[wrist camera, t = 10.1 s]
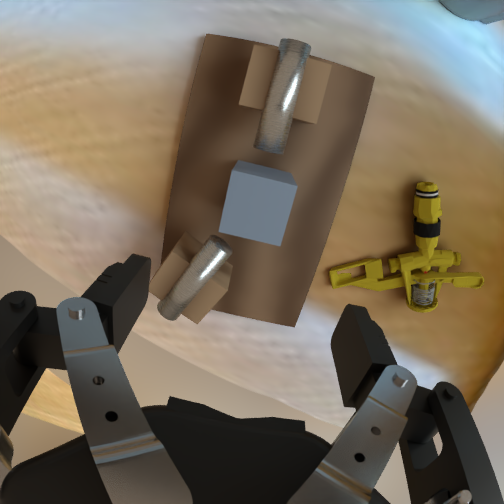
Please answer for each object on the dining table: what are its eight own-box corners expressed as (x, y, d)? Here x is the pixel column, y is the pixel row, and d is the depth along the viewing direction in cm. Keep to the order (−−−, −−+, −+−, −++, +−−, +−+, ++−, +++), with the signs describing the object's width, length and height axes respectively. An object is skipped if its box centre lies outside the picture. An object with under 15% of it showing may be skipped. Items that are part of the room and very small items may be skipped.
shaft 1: (233, 247, 28) (231, 258, 26) (180, 310, 31) (175, 324, 29) (212, 231, 28) (207, 241, 26) (161, 297, 31) (154, 310, 29)
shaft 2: (309, 51, 21) (313, 44, 19) (282, 152, 25) (283, 155, 23) (279, 43, 21) (281, 36, 19) (253, 145, 25) (252, 148, 22)
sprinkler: (499, 185, 24) (483, 310, 30) (481, 178, 28) (471, 294, 33) (322, 195, 29) (331, 328, 34) (320, 187, 32) (330, 309, 38)
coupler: (291, 173, 29) (297, 186, 23) (277, 222, 31) (280, 246, 25) (238, 160, 28) (232, 170, 23) (227, 210, 30) (218, 231, 25)
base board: (371, 78, 25) (395, 70, 20) (293, 322, 37) (297, 356, 31) (208, 36, 24) (195, 18, 19) (159, 291, 36) (143, 321, 30)
